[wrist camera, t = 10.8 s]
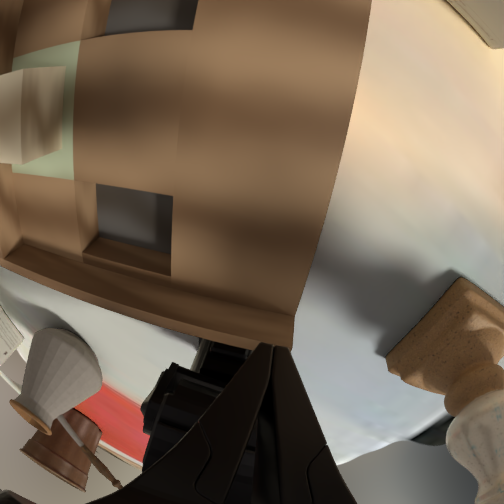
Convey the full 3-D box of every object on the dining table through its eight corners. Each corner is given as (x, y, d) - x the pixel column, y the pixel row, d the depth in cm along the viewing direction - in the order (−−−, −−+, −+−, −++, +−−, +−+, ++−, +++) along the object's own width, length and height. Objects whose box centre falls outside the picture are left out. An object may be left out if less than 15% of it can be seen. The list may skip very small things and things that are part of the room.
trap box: (293, 300, 24) (288, 357, 18) (38, 236, 25) (0, 265, 20) (368, -37, 10) (389, -77, 5) (46, -18, 12) (-1, -25, 7)
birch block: (62, 148, 17) (22, 164, 13) (15, 146, 17) (-20, 161, 14) (66, 66, 14) (23, 68, 10) (17, 75, 14) (-21, 82, 11)
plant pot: (101, 442, 55) (79, 491, 41) (48, 405, 52) (20, 452, 38) (119, 433, 48) (91, 495, 34) (53, 388, 44) (17, 447, 31)
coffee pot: (40, 339, 35) (-11, 408, 22) (50, 302, 30) (-20, 388, 17) (150, 419, 40) (119, 496, 27) (185, 402, 35) (150, 501, 22)
